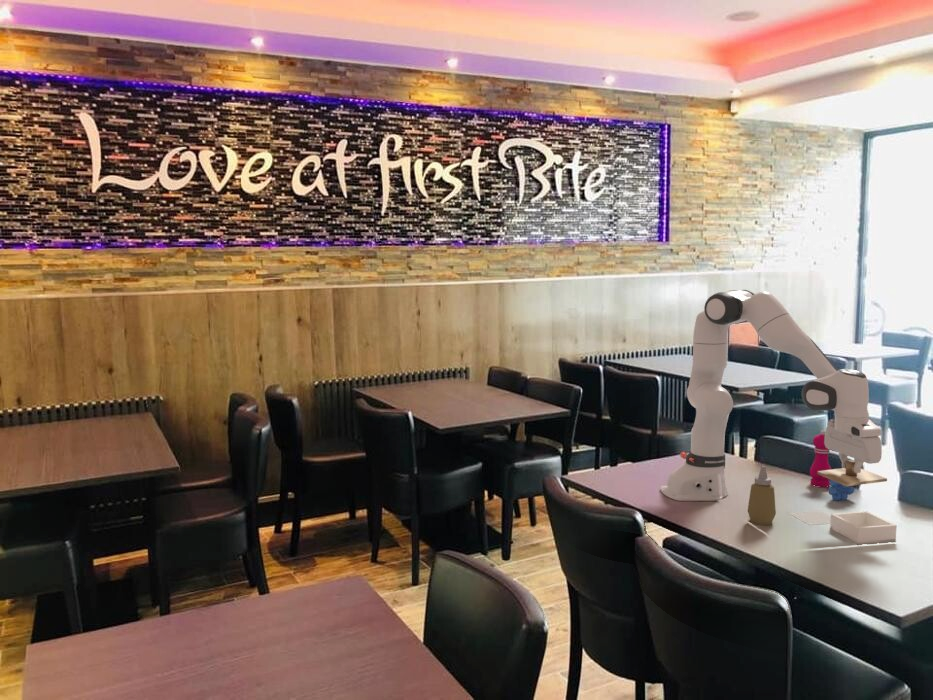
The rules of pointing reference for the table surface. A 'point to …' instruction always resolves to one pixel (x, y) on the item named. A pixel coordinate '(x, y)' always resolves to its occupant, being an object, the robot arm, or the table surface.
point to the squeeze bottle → (762, 500)
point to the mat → (812, 517)
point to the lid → (851, 475)
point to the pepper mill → (820, 461)
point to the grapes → (839, 490)
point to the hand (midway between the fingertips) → (851, 470)
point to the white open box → (863, 527)
